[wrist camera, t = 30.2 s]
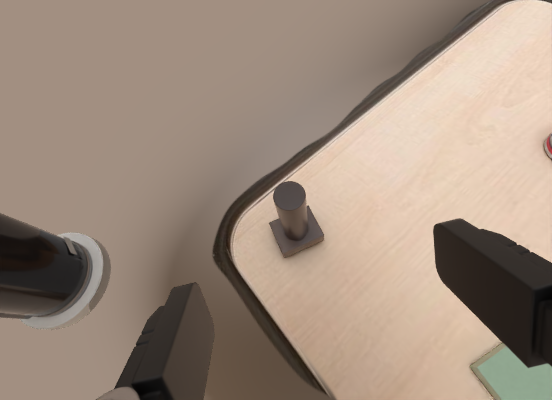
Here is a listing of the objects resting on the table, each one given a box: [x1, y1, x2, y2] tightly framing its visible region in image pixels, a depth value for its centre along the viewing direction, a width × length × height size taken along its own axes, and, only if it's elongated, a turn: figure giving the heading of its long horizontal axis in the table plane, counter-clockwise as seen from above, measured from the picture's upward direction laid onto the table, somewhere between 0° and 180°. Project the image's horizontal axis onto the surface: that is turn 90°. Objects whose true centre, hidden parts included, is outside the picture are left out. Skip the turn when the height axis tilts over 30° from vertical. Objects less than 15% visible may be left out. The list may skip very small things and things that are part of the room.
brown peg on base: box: [269, 181, 324, 258], centre depth 31 cm, size 5×4×12 cm
